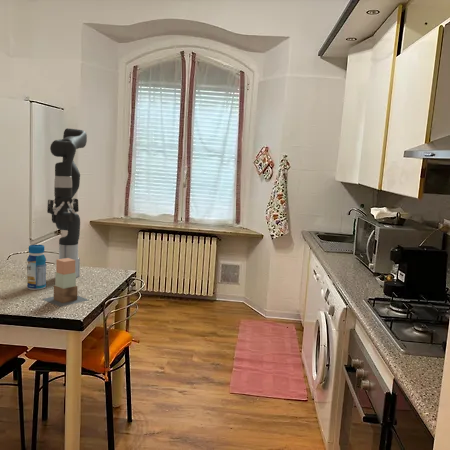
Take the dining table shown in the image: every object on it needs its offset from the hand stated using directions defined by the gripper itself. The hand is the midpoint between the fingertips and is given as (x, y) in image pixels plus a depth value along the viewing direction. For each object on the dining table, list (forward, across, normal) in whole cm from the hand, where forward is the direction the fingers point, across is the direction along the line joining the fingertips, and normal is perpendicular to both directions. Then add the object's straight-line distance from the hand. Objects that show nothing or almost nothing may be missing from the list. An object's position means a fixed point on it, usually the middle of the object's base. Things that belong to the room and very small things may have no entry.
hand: (63, 222), depth 209 cm
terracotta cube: (+20, +7, +13) cm, 25 cm away
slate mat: (+32, +7, +13) cm, 35 cm away
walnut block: (+32, +7, +13) cm, 35 cm away
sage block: (+26, +7, +13) cm, 30 cm away
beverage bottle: (+32, +6, -12) cm, 35 cm away
